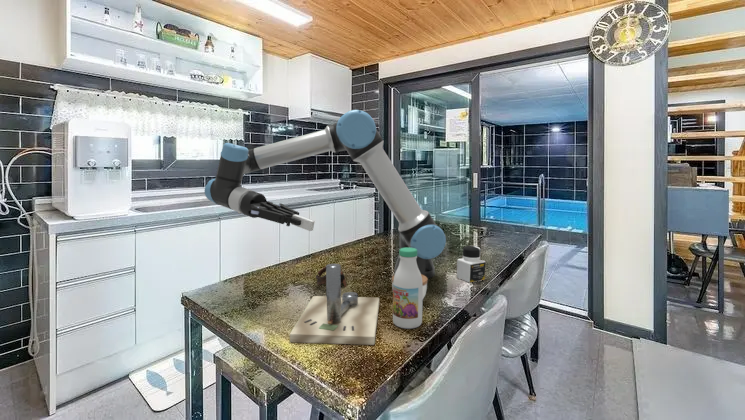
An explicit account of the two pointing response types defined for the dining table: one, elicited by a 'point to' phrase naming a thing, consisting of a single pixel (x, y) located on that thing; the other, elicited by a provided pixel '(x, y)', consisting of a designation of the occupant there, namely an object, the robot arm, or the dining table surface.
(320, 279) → the pottery mug
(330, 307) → the lever
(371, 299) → the dial board
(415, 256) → the milk bottle
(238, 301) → the dining table surface
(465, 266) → the medicine bottle
